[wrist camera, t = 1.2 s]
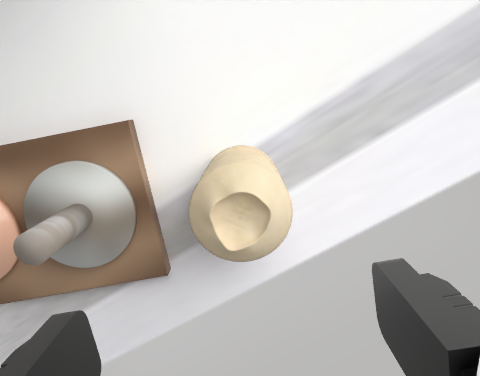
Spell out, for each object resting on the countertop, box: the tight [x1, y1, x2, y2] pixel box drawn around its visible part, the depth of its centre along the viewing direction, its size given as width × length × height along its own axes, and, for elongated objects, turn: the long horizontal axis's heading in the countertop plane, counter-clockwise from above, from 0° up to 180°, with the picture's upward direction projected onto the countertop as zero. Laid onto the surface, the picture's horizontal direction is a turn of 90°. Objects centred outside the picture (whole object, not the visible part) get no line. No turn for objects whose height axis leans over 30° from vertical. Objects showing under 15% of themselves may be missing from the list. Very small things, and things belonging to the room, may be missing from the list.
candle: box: [189, 146, 292, 262], centre depth 23 cm, size 6×6×10 cm
